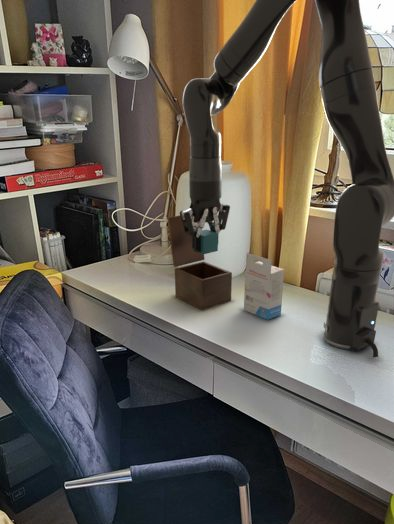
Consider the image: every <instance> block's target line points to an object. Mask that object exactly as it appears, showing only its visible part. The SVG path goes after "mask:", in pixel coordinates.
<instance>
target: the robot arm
mask: <svg viewBox="0 0 394 524" xmlns="http://www.w3.org/2000/svg"><path fill="white" fill-rule="evenodd" d="M313 1H314V5H315V9H316V11H317V17H318V20H319V26H320V48H319V49H320V50H319V57H318V69H317V70H318V84H319V89H320V95H321V101H322V106H323V109H324V112H325V117H326V119H327V122H328V124H329V126H330V128H331V130H332V132H333V134H334V135H335V137H336V139H337V140H338V142H339V144H340V146H341V147H342V150H343V151H344V154H345V156H346V159H347V161H348V166H349V171H350V176H351V185H350V186H348V187H346V188H345V189H344V190H343V191H342V193H341V194H340V196H339V198H338V200H337V203H336V207H335V213H334V222H333V223H334V224H333V235H332V236H333V237H332V250H333V253H334V259H333V260H334V261H333V268H332V276H331V283H330V290H329V296H328V305H327V312H326V320H325V321H323V328H324V332H323V340H324V342H326V343H327V344H328V345H330V346H332V347H335V348H339V349H343V350H350V351H353V352H356V351H358V350H362V349H363V348H366V347H370V348H371V350H372V358H378V357H379V349H378V346H377V345H376V344H375V339H376V334H377V330H375V328H376V323H377V317H378V314H379V313H378V312H379V307H380V302H378V301H376V299H377V293H378V290H379V289H378V287H379V283H380V279H381V272H382V267H383V262H384V252H383V250H382V249H380V240H381V235H382V234H381V232H382V227H383V226H385V225H387V224H388V223H389V222H390V221H392V220H393V218H394V175H393V171H392V169H391V168H392V167H391V165H390V161H389V158H388V153H387V150H386V143H385V138H384V131H383V125H382V119H381V113H380V108H379V107H380V106H379V101H378V93H377V92H378V91H377V88H376V87H377V86H376V81H375V76H374V69H373V66H372V60H371V57H370V56H371V55H370V51H369V45H368V40H367V35H366V30H365V26H364V21H363V18H362V13H361V6H360V0H313ZM296 2H297V0H255V1H254V3H253V4H252V5H251V7H250V9H249V11H248V12H247V13H246V15H245V17H244V18H243V20H242V21H241V22H240V24H239V25H238V26H237V28H236V29H235V30H234V32H233V33H232V34H231V36H230V37H229V38H228V40H227V41H226V42H225V43H224V44H223V46H222V47H221V48H220V50H219V51H218V52H217V54H216V56H215V58H214V60H213V68H214V72H213V74H211V76H210V77H209V78H202V77H201V78H200V77H197V78H193V79H191V80H189V81H188V83H187V84H186V85H185V87H184V90H183V94H182V108H183V113H184V118H185V123H186V127H187V131H188V134H189V166H188V174H189V175H188V177H189V179H188V180H189V181H188V183H189V184H188V185H189V199H190V205H189V208H188V209H185V210H182V209H181V210H180V211H179V215H180V217H181V221H182V224H183V228H184V232H185V234H187V235H190V236H192V249H193V250H194V251H195V252H201V237H200V235H201V231H202V230H203V229H204V227H205V224H206V223H207V224H208V227H209V230H210V231H213V232H216V233H218V235H219V234H220V232H221V231H225V230H226V227H227V223H228V219H229V214H230V209H231V206H230V205H229V204H226V203H221V198H222V190H223V189H222V187H223V186H222V185H223V184H222V183H223V181H222V180H223V179H222V178H223V164H222V133H221V131H220V130H219V129H218V128H216V127H214V125H213V118H212V116H215V115H218V114H220V113H222V111H224V109H226V108H227V107H228V105H229V104H230V102H231V101H232V99H233V98H234V96H235V94H236V93H237V91H238V89H239V87H240V84H241V83H242V81H243V80H244V79H245V78H246V77H247V75H249V74H250V73H251V71H252V70H253V69H254V67H256V65H257V64H258V63H259V62H260V61H261V59H262V57H264V55H265V54H266V51H267V50H268V49H269V46H270V44H271V42H272V40H273V38H274V36H275V33H276V31H277V28H278V27H279V24H280V23H281V21H282V19H283V18H284V16H285V15H286V14H287V12H288V11H289V10H290V9H291V7H292V6H293V5H294V4H295V3H296ZM192 215H193V219H192V221H191V218H192ZM197 221H198V222H200V223H199V224H198V223H197Z"/></svg>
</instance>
